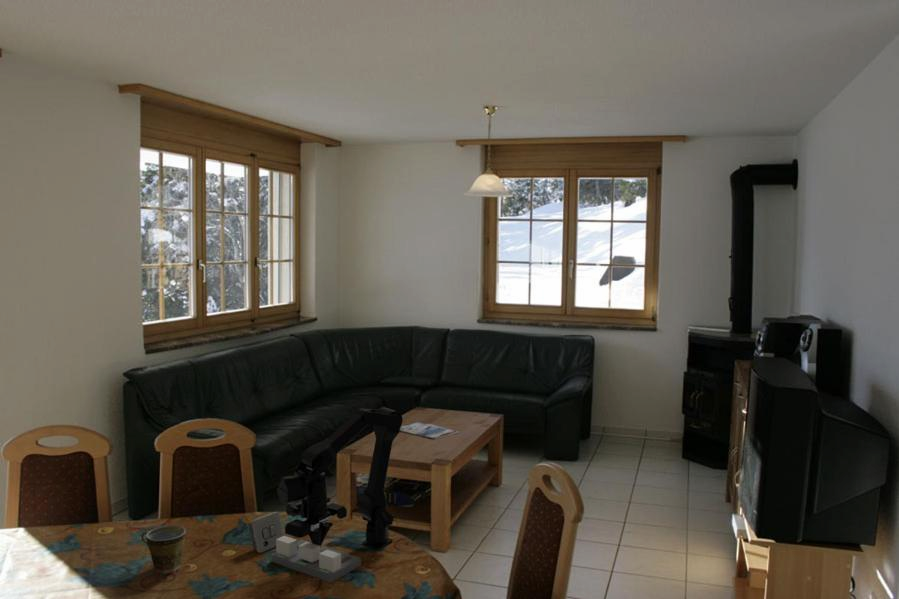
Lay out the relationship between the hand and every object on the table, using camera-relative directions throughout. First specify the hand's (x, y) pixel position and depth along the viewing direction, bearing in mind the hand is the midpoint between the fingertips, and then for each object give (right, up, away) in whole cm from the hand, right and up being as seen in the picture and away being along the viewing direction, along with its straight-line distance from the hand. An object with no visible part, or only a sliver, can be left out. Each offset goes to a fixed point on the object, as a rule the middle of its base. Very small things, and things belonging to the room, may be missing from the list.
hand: (316, 549), depth 209 cm
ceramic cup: (-41, -4, -3) cm, 41 cm away
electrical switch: (-17, -3, +11) cm, 20 cm away
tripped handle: (-2, -1, -2) cm, 3 cm away
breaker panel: (0, -4, 0) cm, 4 cm away
